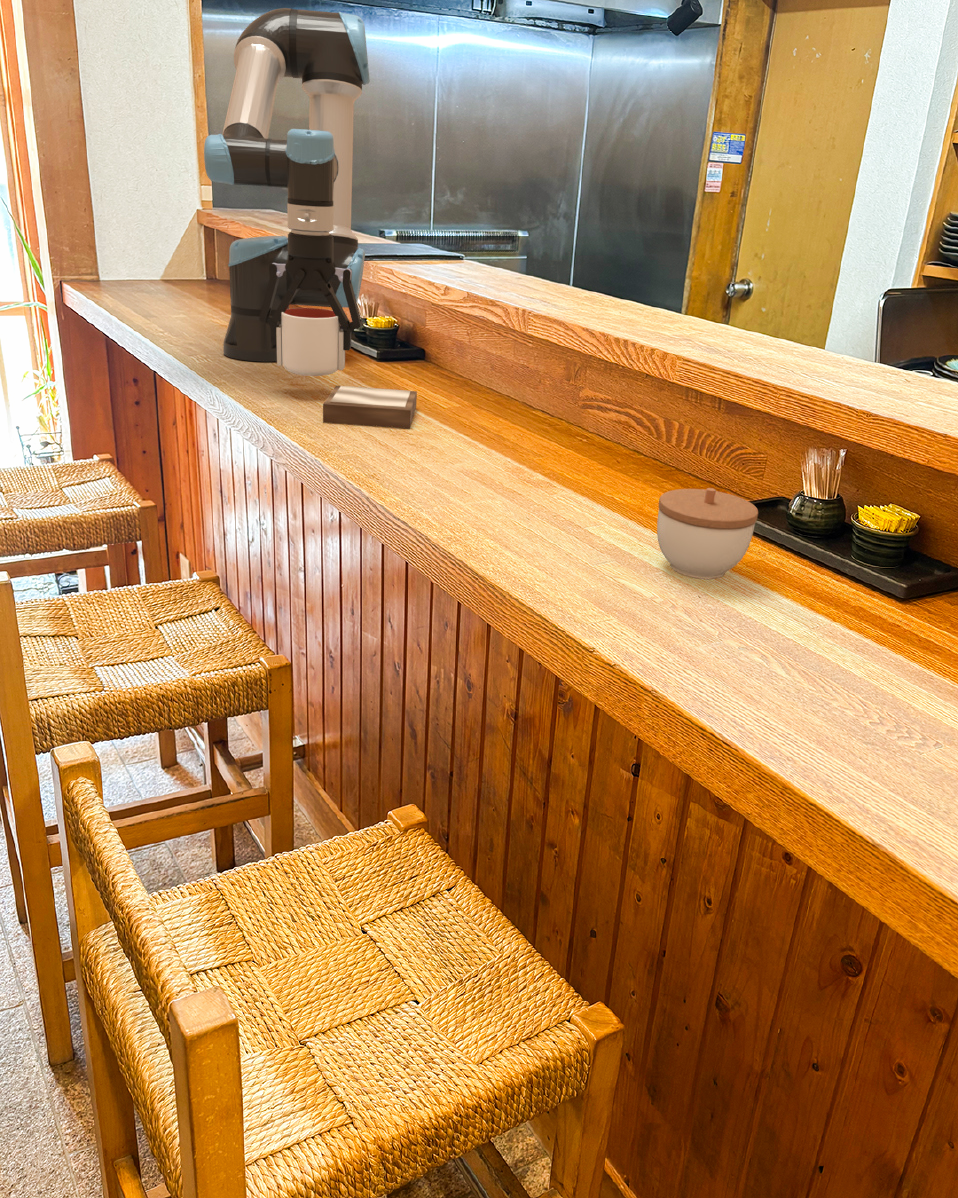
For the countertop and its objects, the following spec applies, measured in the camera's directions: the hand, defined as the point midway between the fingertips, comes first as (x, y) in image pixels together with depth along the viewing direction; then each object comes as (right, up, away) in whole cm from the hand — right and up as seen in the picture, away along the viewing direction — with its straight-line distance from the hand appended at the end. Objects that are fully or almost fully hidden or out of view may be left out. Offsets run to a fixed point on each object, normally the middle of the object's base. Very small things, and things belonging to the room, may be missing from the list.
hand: (311, 366), depth 172 cm
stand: (+12, -10, -8) cm, 17 cm away
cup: (0, -1, 0) cm, 1 cm away
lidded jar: (+54, -38, -62) cm, 90 cm away
